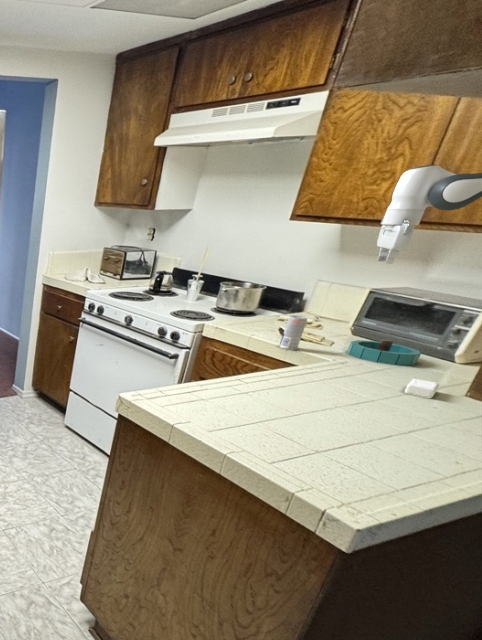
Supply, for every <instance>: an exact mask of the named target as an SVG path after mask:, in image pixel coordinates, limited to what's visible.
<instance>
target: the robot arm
mask: <svg viewBox="0 0 482 640" xmlns="http://www.w3.org/2000/svg"><path fill="white" fill-rule="evenodd" d="M396 183H397V184H396V186H395V188H394V189H393V193H392V194H391V202H390V204H389V205H388V207H387V208H386V210H385V213H384V216H383V217H382V219H381V221H380V225H381V227H380V230H379V234H378V237H377V240H376V247H379V253H378V257H377V261H378V262H384V263H385V264H387V265H392V264H394V261H395V259H396V258H397V256H398V255H399V254H400V251H406V250H407V248H408V247H409V244H410V242H411V239H412V236H413V233H414V230H415V226H419V225H420V223H421V220H422V218H423V215H424V213H425V210H426V208H428V207H433V208H435V209H437V210H441V211H455V210H459V209H463V208H464V207H467V206H468V205H471V204H472V203H474V202H475V201H477V200H479V199H480V198H482V172H479V173H477V172H476V173H458V174H456V173H453V172H451V171H448V170H447V169H445V168H442V166H440V165H438V164H426V165H420V166H416V167H412V168H409V169H408V170H406V171H405V172H403V173H402V175H400V178H399V179H398V181H397V182H396Z"/></svg>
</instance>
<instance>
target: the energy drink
mask: <svg viewBox="0 0 482 640" xmlns="http://www.w3.org/2000/svg"><path fill="white" fill-rule="evenodd" d="M307 322H308V317H307V316H303V315H289V316H288V318H287V321H286V324H285V328H284V330H283V332H282V333H283V334H282V336H281V339H280V342H279V345H278V347H279V348H280V349H282V350H287V351H288V350H289V351H296V350H298V347H299V345H300V342H301V339H302V337H303V335H304V330H305V328H306V325H307Z"/></svg>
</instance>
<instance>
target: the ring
mask: <svg viewBox="0 0 482 640" xmlns="http://www.w3.org/2000/svg"><path fill="white" fill-rule="evenodd" d="M380 343H381V341H376V340H363V339H362V340H358V339H357V340H352V341H350V343H349V346H348V348H347V350H346V352H347V354H348V355H349V356H352V357H355V358H357V359H361V360H365V361H368V362H373V363H379V364H387V365H393V366H394V365H395V366H409V367H410V366H414V365H417V363H418V362H419V359H420V357H421V355H422V352H421V351H420V350H418V349H415V348H412V347H409V346H406V345H401V344H396V343H393V344H392V346H391V349H390V351H389V352H388V351H381V350H378V347H379V345H380Z"/></svg>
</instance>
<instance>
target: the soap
mask: <svg viewBox="0 0 482 640" xmlns="http://www.w3.org/2000/svg"><path fill="white" fill-rule="evenodd" d="M439 387H440V383H438V382H434V381H428V380H425V379H424V380H423V379H418V378H413V379H412V380H411V381H410V382H409V383H408V384H407V385H406V387H405V390H404V394H407V395H408V394H409V395H410V396H416V397H420V398H425V399H432V398H433V397H434V396H435V394H436V393H437V391H438V389H439Z"/></svg>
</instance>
